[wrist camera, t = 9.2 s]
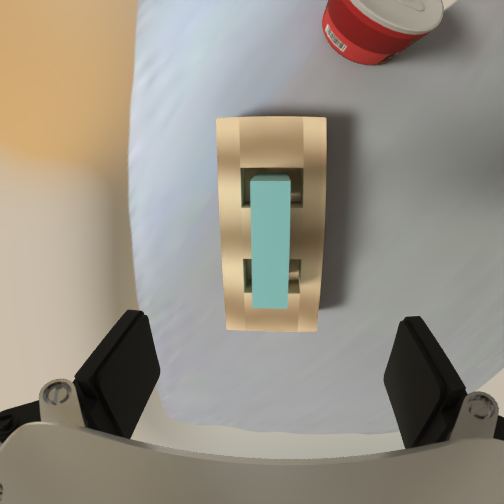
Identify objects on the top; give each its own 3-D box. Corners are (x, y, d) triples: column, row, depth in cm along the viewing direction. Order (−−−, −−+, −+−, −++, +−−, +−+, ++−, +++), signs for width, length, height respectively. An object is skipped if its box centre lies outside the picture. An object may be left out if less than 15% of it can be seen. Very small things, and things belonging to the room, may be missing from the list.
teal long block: (257, 172, 27) (250, 181, 20) (287, 173, 27) (290, 181, 20) (258, 273, 30) (252, 308, 24) (285, 273, 30) (287, 308, 24)
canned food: (389, 78, 23) (441, 50, 13) (313, 51, 23) (330, 3, 13) (400, 21, 21) (446, -21, 10) (328, -6, 21) (347, -63, 10)
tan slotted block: (224, 122, 27) (216, 118, 23) (319, 121, 26) (326, 117, 22) (232, 309, 33) (226, 329, 30) (312, 311, 33) (316, 331, 29)
